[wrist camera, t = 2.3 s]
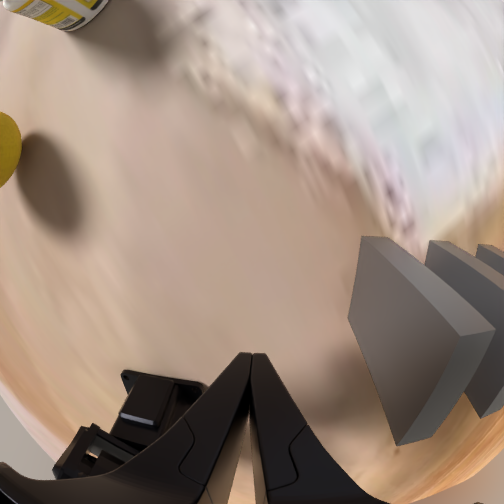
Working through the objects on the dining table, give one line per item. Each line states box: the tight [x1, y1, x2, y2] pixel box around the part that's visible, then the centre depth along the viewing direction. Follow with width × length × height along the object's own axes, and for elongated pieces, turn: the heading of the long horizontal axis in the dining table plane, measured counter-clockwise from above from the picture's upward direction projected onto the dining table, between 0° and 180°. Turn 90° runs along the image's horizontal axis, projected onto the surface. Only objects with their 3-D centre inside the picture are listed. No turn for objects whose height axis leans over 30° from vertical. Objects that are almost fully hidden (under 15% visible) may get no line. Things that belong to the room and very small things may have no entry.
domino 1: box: [348, 236, 496, 446], centre depth 10 cm, size 2×5×9 cm, turn 179°
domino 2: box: [425, 240, 504, 419], centre depth 10 cm, size 2×5×9 cm, turn 179°
